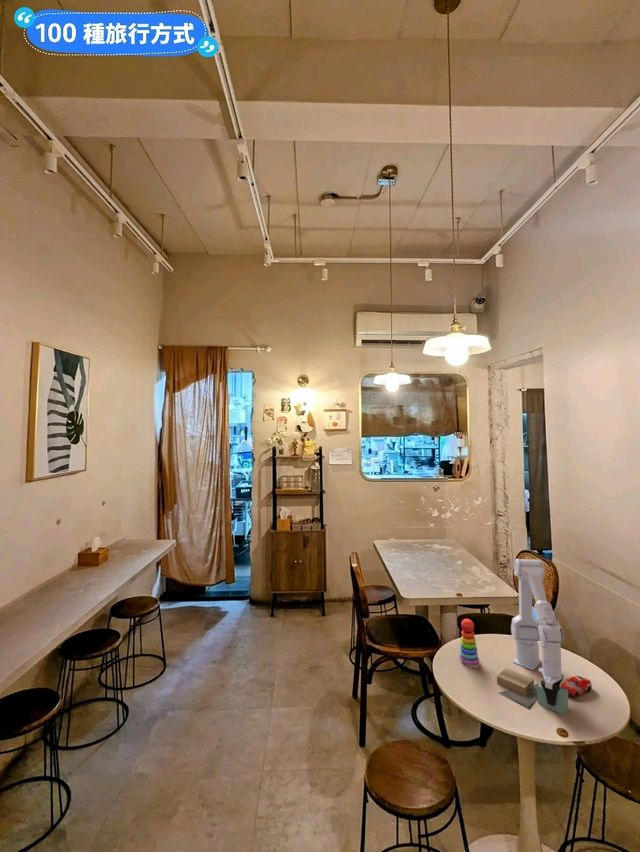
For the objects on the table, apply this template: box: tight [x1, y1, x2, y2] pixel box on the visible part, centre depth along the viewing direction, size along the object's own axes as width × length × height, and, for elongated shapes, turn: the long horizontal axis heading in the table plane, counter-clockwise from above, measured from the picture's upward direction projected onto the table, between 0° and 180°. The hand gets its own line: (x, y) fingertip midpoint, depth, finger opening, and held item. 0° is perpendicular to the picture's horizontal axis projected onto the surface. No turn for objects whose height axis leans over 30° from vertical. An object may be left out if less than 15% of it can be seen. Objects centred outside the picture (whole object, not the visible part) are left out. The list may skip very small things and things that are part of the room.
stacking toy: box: [459, 618, 480, 668], centre depth 162 cm, size 8×8×19 cm
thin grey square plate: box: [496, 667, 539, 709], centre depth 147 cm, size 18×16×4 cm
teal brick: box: [537, 679, 569, 715], centre depth 137 cm, size 5×8×6 cm, turn 42°
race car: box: [560, 675, 593, 698], centre depth 144 cm, size 13×5×4 cm, turn 116°
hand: (552, 700), depth 137 cm, fingers closed on teal brick, 5 cm apart
